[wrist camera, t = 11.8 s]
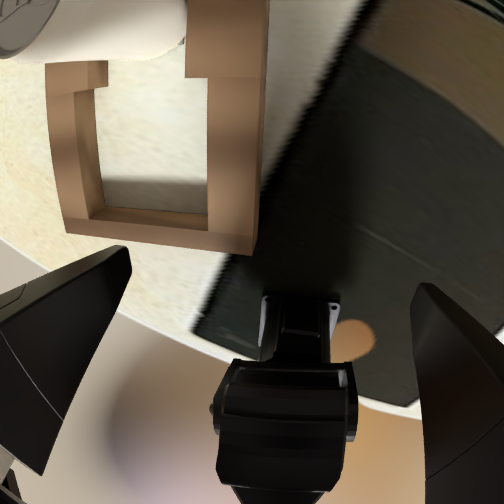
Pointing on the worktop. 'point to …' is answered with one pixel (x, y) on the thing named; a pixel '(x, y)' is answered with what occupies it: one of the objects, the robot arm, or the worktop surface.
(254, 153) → the keyhole plate
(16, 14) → the can
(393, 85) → the worktop surface
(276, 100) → the worktop surface
